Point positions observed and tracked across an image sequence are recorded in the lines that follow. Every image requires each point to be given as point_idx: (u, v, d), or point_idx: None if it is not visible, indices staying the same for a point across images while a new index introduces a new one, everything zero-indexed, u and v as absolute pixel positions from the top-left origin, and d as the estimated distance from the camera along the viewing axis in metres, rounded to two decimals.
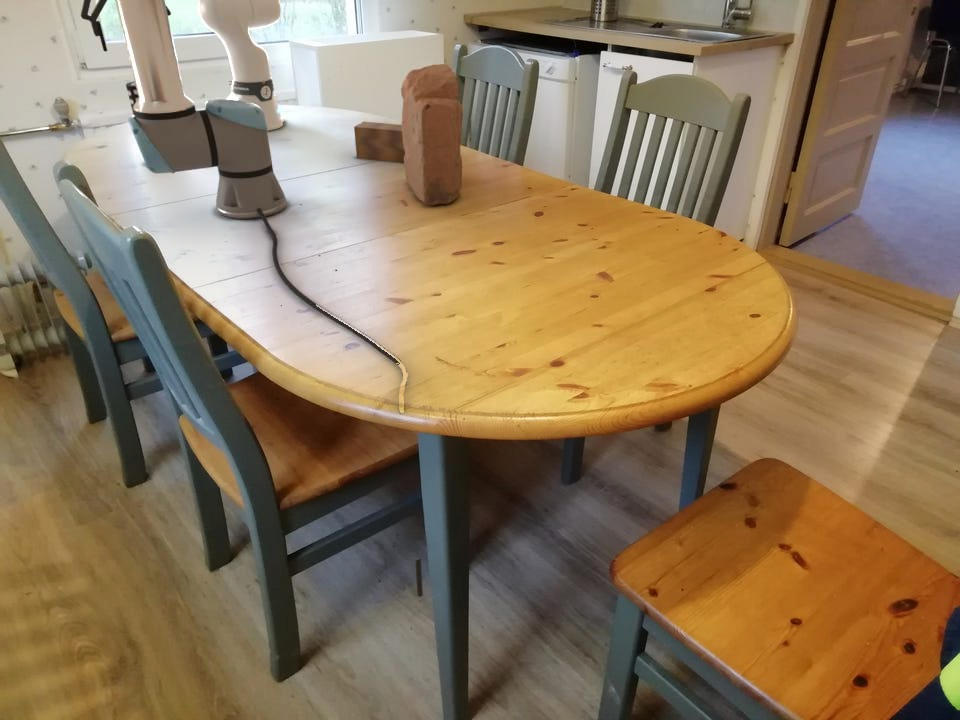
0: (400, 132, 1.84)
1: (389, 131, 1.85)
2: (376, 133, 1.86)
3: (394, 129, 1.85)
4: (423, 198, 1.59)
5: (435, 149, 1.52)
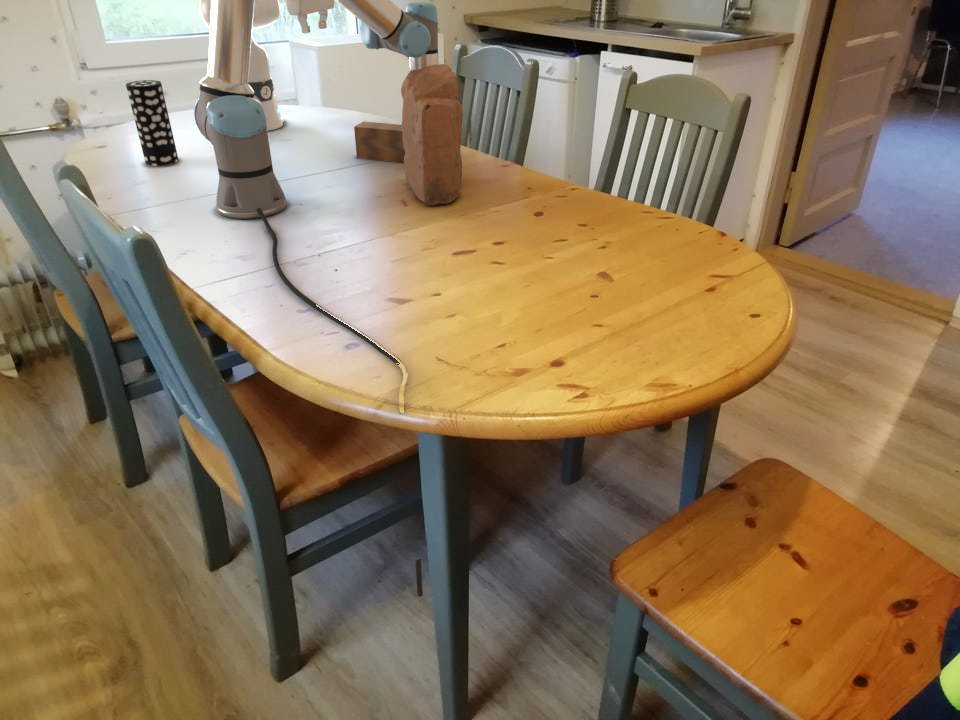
0: (400, 132, 1.84)
1: (389, 131, 1.85)
2: (376, 133, 1.86)
3: (394, 129, 1.85)
4: (423, 198, 1.59)
5: (435, 149, 1.52)
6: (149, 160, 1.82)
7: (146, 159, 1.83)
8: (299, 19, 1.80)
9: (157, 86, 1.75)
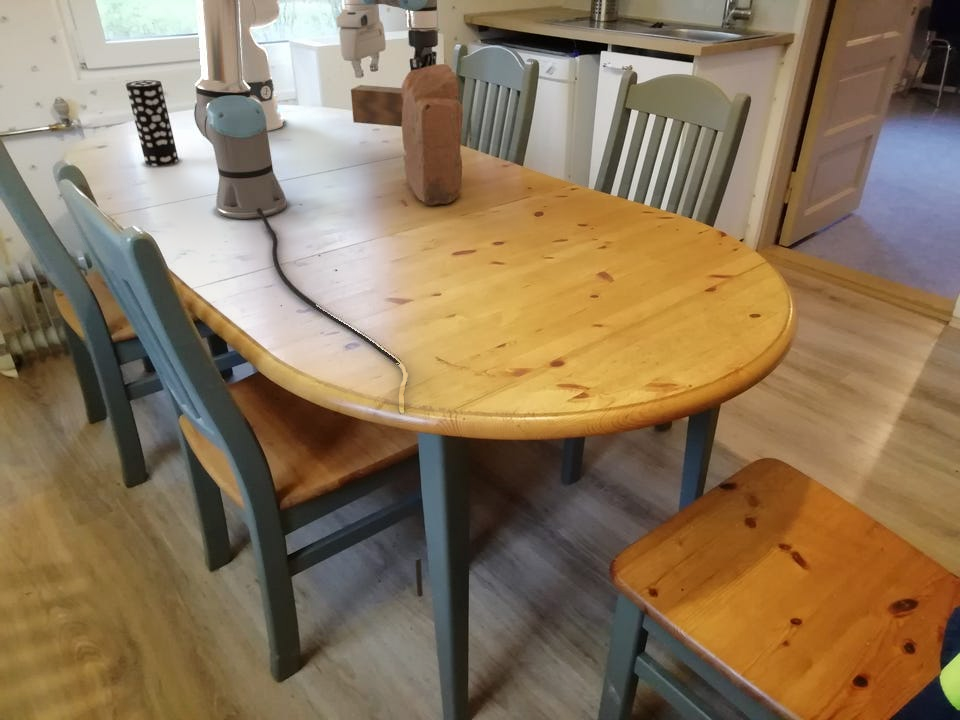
0: (398, 94, 1.79)
1: (387, 93, 1.80)
2: (374, 96, 1.81)
3: (392, 91, 1.80)
4: (423, 198, 1.59)
5: (435, 149, 1.52)
6: (149, 160, 1.82)
7: (146, 159, 1.83)
8: (353, 64, 1.75)
9: (157, 86, 1.75)
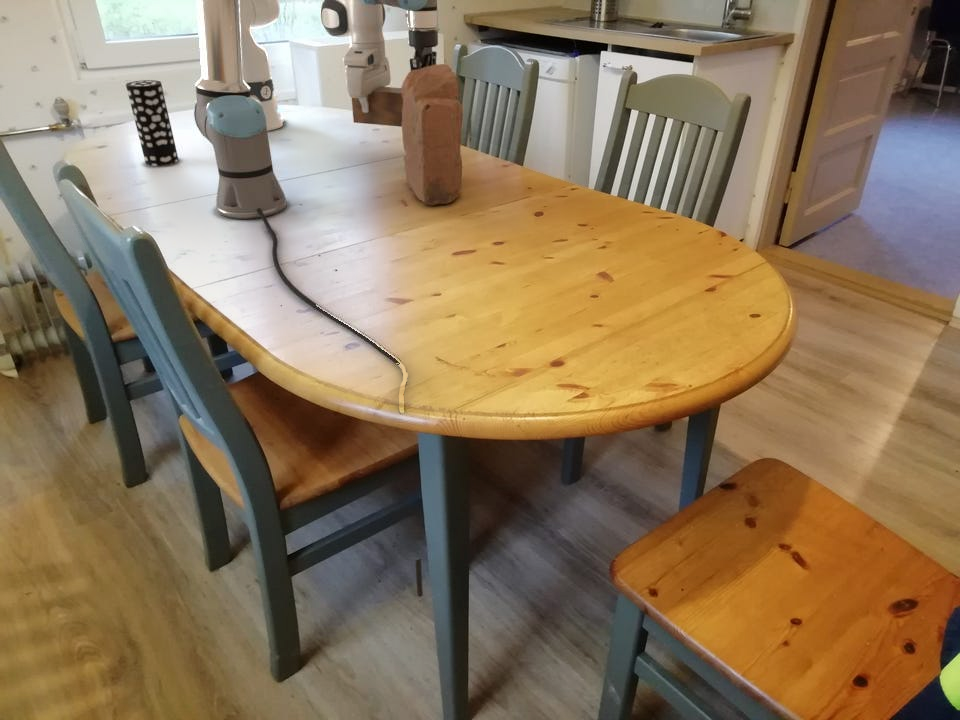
0: (398, 94, 1.79)
1: (387, 93, 1.80)
2: (374, 96, 1.81)
3: (392, 91, 1.80)
4: (423, 198, 1.59)
5: (435, 149, 1.52)
6: (149, 160, 1.82)
7: (146, 159, 1.83)
8: (360, 99, 1.80)
9: (157, 86, 1.75)
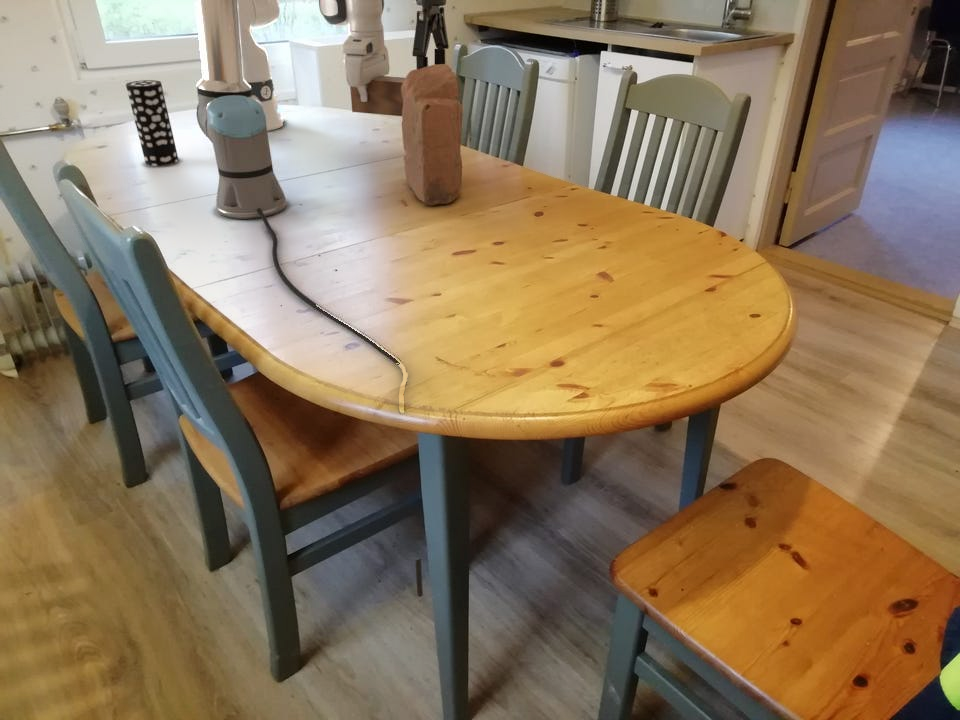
0: (397, 83, 1.78)
1: (386, 82, 1.78)
2: (373, 85, 1.80)
3: (391, 80, 1.79)
4: (423, 198, 1.59)
5: (435, 149, 1.52)
6: (149, 160, 1.82)
7: (146, 159, 1.83)
8: (359, 88, 1.79)
9: (157, 86, 1.75)
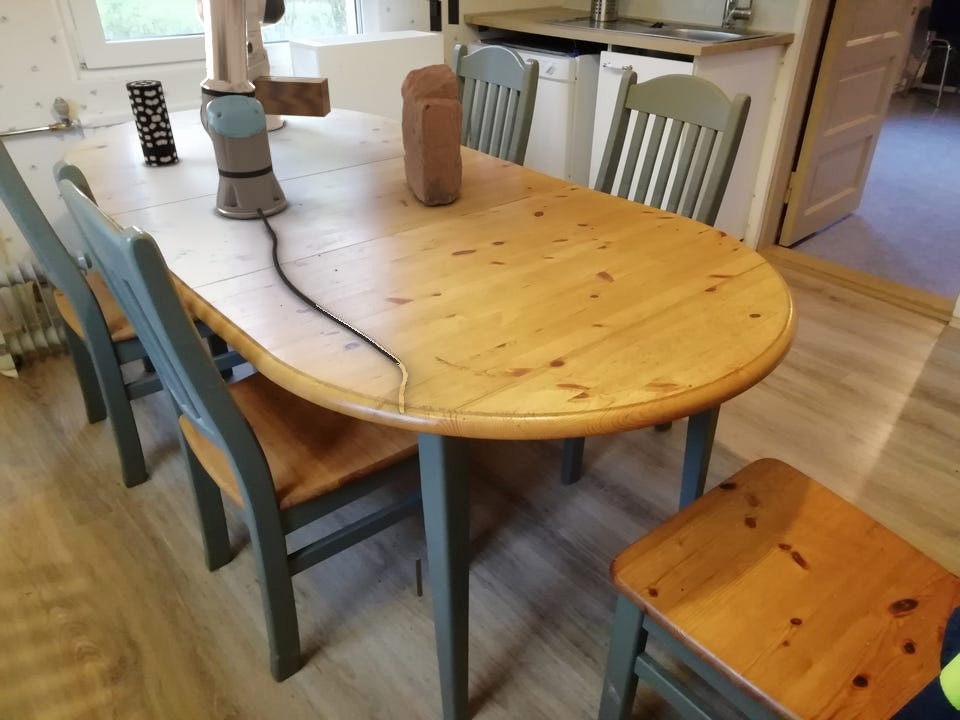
0: (281, 83, 1.77)
1: (269, 82, 1.77)
2: (256, 85, 1.78)
3: (274, 80, 1.78)
4: (423, 198, 1.59)
5: (435, 149, 1.52)
6: (149, 160, 1.82)
7: (146, 159, 1.83)
8: None
9: (157, 86, 1.75)
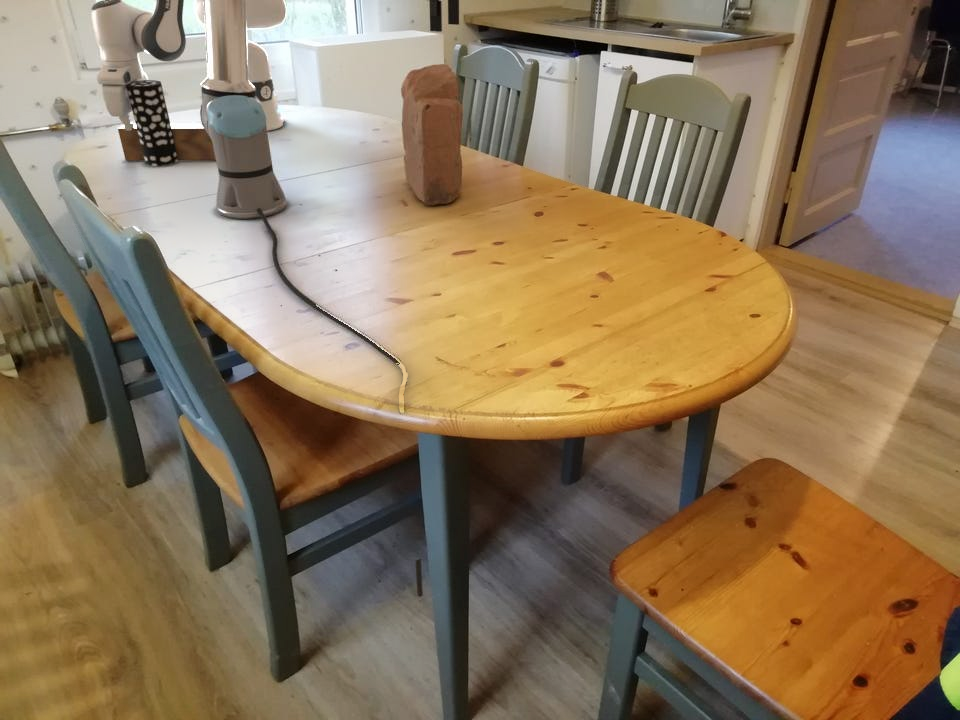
0: None
1: None
2: None
3: None
4: (423, 198, 1.59)
5: (435, 149, 1.52)
6: (149, 160, 1.82)
7: (146, 159, 1.83)
8: (121, 118, 1.78)
9: (157, 86, 1.75)
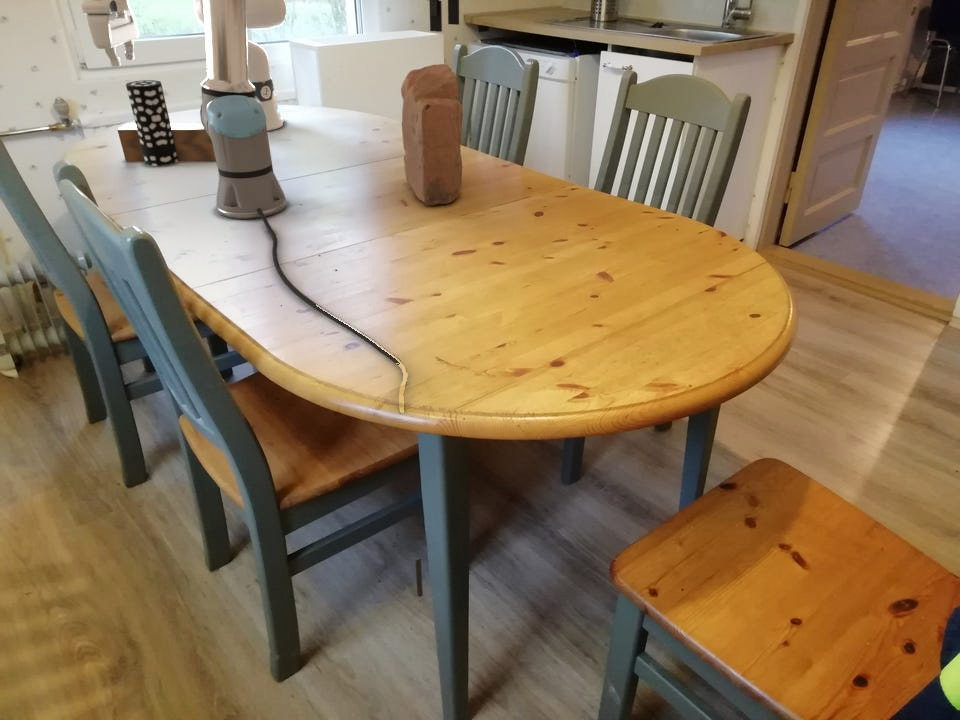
0: None
1: None
2: None
3: None
4: (423, 198, 1.59)
5: (435, 149, 1.52)
6: (149, 160, 1.82)
7: (146, 159, 1.83)
8: (107, 52, 1.69)
9: (157, 86, 1.75)
